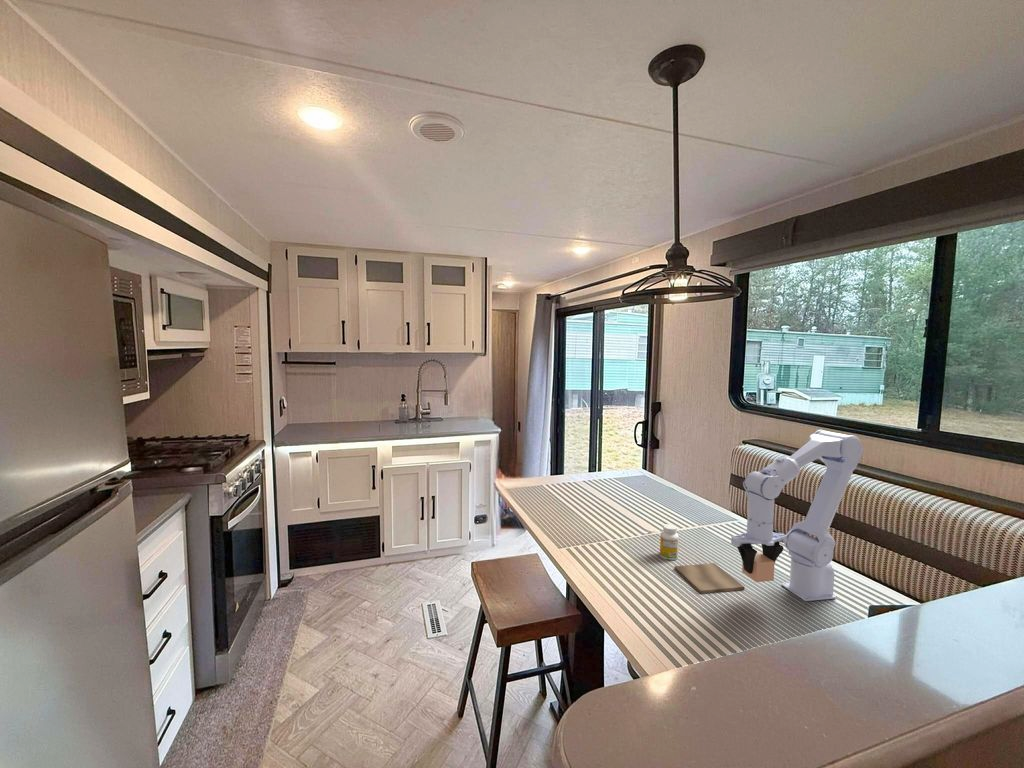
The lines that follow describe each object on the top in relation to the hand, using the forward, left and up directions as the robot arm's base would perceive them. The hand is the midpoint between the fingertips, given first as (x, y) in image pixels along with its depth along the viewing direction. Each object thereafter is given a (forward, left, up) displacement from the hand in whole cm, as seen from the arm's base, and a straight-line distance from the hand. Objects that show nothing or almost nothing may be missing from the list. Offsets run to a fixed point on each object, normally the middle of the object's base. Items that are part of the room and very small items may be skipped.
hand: (757, 570), depth 107 cm
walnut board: (+6, -11, -8) cm, 15 cm away
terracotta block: (0, 0, -2) cm, 2 cm away
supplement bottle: (+10, -25, -8) cm, 29 cm away
